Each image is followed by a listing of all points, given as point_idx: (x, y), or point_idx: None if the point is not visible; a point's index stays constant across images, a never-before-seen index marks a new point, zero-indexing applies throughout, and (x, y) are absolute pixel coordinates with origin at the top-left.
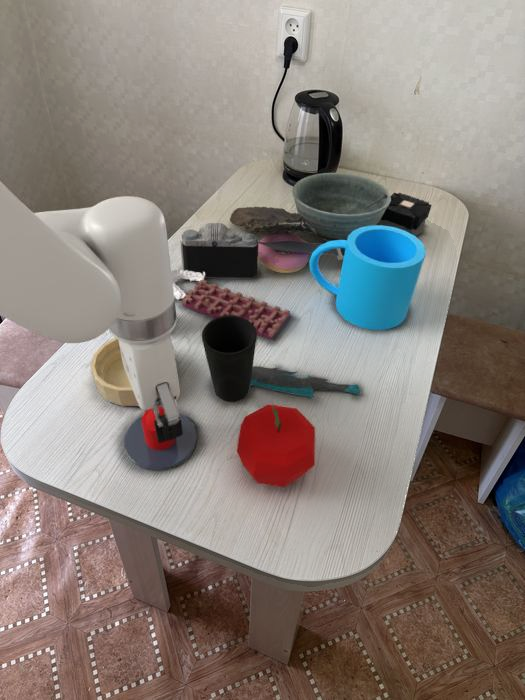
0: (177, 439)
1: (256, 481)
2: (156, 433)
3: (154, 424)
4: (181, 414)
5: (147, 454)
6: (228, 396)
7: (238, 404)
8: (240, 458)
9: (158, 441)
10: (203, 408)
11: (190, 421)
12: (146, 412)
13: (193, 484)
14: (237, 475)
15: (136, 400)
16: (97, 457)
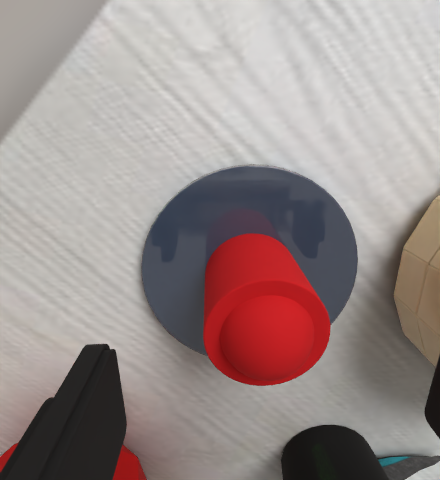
0: None
1: (4, 453)
2: (68, 392)
3: (36, 471)
4: None
5: (206, 226)
6: (293, 463)
7: (271, 453)
8: None
9: (82, 350)
10: (299, 389)
11: None
12: (317, 307)
13: (75, 307)
14: None
15: (421, 255)
16: (271, 63)
